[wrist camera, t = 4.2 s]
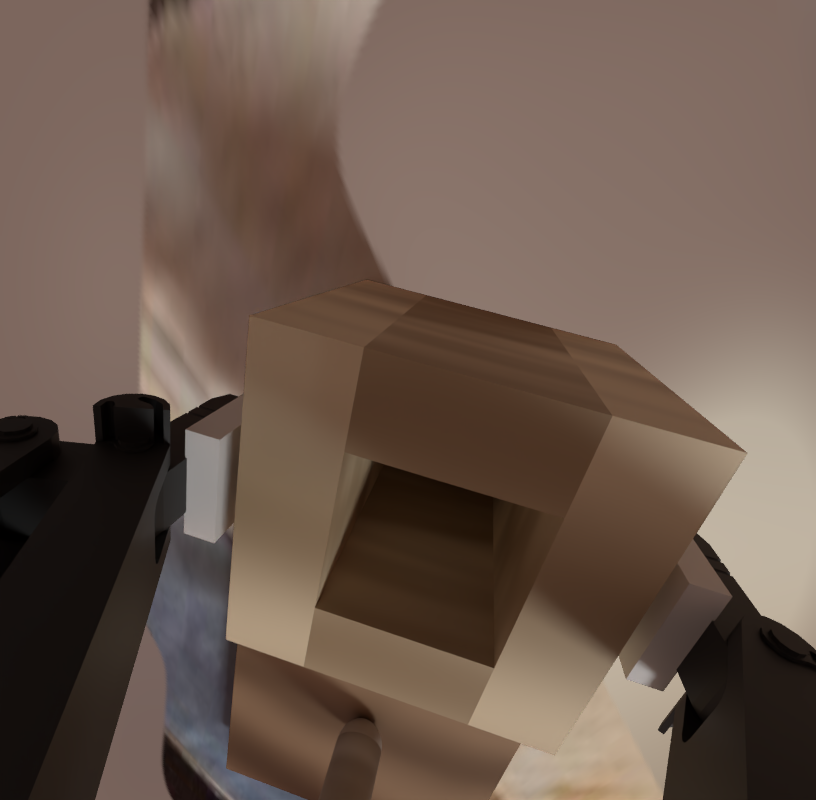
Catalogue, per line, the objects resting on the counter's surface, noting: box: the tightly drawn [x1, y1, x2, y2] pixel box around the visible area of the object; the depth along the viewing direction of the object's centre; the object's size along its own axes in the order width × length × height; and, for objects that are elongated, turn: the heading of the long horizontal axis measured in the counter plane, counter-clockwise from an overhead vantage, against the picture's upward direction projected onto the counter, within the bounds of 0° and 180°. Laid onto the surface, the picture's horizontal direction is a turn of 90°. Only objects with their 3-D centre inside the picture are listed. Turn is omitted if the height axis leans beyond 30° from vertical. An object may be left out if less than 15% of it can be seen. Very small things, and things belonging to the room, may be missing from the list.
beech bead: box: [226, 280, 747, 755], centre depth 11 cm, size 8×8×7 cm
